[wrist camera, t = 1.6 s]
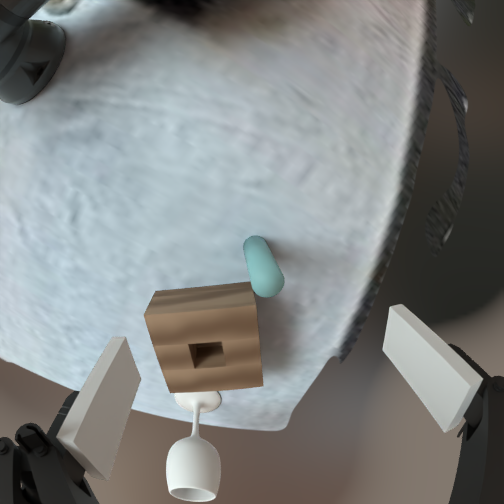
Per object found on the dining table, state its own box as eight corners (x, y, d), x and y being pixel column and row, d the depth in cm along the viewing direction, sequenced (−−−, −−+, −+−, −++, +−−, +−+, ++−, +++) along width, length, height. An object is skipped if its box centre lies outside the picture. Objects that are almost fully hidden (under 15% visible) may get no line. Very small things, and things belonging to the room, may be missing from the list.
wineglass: (187, 376, 44) (176, 479, 24) (229, 394, 46) (235, 493, 26) (167, 401, 46) (153, 493, 26) (206, 417, 48) (205, 506, 28)
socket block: (155, 291, 39) (143, 314, 32) (250, 281, 39) (256, 304, 33) (175, 364, 43) (170, 393, 36) (258, 357, 44) (263, 386, 37)
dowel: (242, 236, 37) (250, 268, 26) (265, 234, 38) (283, 265, 26) (244, 259, 38) (252, 299, 27) (267, 256, 39) (284, 295, 27)
